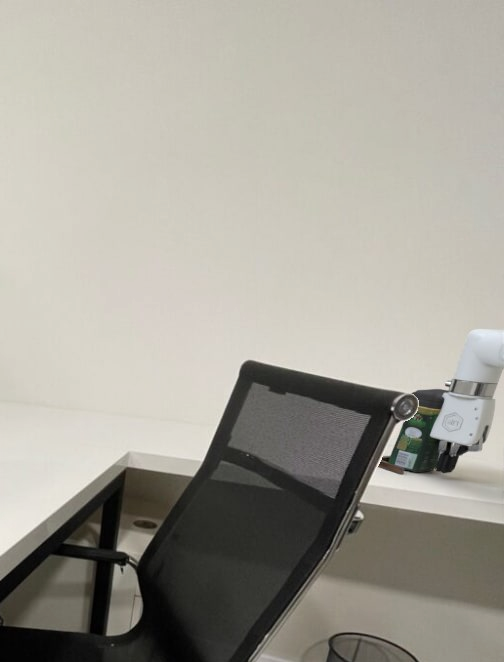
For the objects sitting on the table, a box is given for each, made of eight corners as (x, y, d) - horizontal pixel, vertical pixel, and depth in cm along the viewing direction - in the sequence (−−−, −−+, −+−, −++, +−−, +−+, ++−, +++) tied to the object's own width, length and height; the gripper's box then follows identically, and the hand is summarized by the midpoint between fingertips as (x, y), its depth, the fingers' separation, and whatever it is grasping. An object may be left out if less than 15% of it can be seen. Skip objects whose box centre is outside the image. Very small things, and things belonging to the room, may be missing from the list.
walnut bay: (445, 469, 131) (448, 463, 130) (400, 474, 125) (402, 468, 124) (412, 459, 137) (414, 453, 137) (367, 463, 132) (369, 457, 131)
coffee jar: (406, 460, 136) (432, 385, 129) (440, 471, 129) (470, 392, 122) (380, 463, 132) (406, 386, 125) (414, 474, 125) (443, 393, 118)
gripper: (424, 384, 122) (399, 463, 129) (501, 396, 110) (469, 483, 116) (446, 383, 125) (421, 461, 132) (523, 395, 112) (491, 480, 119)
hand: (443, 471), depth 124 cm, fingers closed
